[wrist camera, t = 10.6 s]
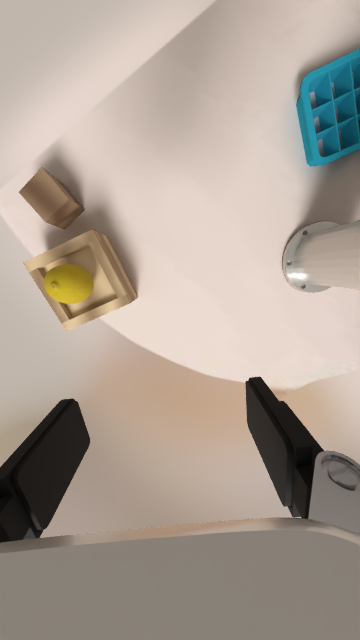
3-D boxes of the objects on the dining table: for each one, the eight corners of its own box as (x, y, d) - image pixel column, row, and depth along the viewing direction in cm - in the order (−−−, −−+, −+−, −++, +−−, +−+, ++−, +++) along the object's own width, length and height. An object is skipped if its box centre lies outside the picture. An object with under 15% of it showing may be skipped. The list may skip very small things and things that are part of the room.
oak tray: (107, 236, 33) (92, 228, 27) (137, 297, 36) (130, 303, 30) (49, 264, 34) (23, 262, 28) (84, 321, 37) (66, 331, 31)
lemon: (60, 272, 29) (20, 273, 22) (91, 259, 29) (61, 255, 21) (77, 304, 31) (45, 315, 23) (107, 292, 30) (84, 299, 23)
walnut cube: (62, 183, 31) (42, 167, 26) (84, 210, 32) (68, 199, 27) (42, 204, 31) (18, 192, 26) (64, 229, 32) (45, 222, 28)
